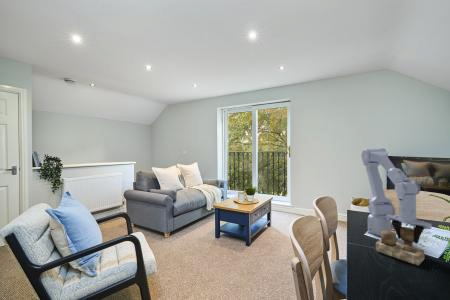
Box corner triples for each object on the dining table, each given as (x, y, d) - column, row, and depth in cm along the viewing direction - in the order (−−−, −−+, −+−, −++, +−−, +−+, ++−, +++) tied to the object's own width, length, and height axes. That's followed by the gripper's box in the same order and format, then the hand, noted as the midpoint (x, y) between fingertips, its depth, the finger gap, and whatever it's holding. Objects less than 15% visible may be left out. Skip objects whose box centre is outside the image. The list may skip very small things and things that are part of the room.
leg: (398, 246, 91) (398, 229, 90) (402, 242, 93) (402, 226, 93) (413, 250, 86) (413, 232, 86) (417, 246, 89) (417, 229, 89)
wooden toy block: (375, 250, 90) (375, 232, 90) (382, 245, 94) (382, 228, 94) (418, 265, 79) (418, 244, 78) (424, 258, 83) (424, 239, 83)
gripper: (383, 207, 93) (384, 236, 94) (427, 215, 81) (428, 249, 82) (389, 204, 97) (390, 232, 98) (432, 211, 85) (433, 244, 85)
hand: (407, 240), depth 90 cm, fingers closed on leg, 5 cm apart
